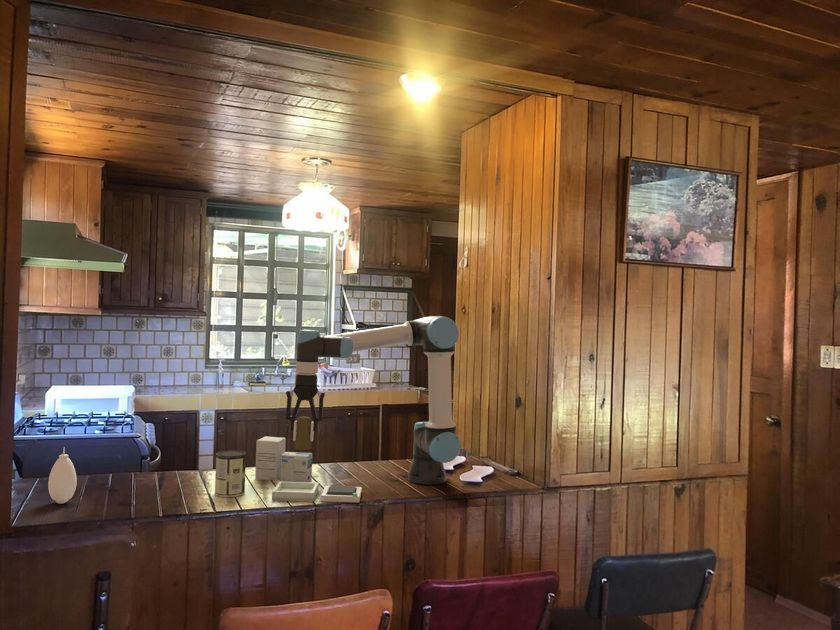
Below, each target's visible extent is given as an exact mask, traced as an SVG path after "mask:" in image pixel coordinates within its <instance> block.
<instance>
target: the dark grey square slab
mask: <svg viewBox="0 0 840 630" xmlns="http://www.w3.org/2000/svg"><path fill="white" fill-rule="evenodd" d="M329 486H330V488H329V490H328V495H353V493H355V491H356V487H357V485H338V484H337V485H334V484H330V485H329Z"/></svg>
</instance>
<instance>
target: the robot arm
mask: <svg viewBox="0 0 840 630" xmlns="http://www.w3.org/2000/svg"><path fill="white" fill-rule="evenodd" d="M320 333H321V332H320V331H319V330H318V329H317V330H316V329H315V330H314V329H300V330H299V332H298V335H297V341H296V342H297V344H296V345H297V346H296V364H295V368H296V369H295V373H297V374H296V375H295V382H294V383H295V385H294V388H293V389H291V390H286V392H285V394H286V397H287V398H286V399H287V400H286V412H285V414H286V415H285V419H286V420H288V421H290V431H292V432H293V437H292V441H293V442H295V441H296V436H297V430H298V425H297V419H296V418H297V415H298V413H299V409H300V407H301V404H302V401H306V402H308V403H309V408H310V412H311V416H312V420H313V421H312V422H311V426H310V433H311V437H310V441H311V442H314V433H315V432H317V430H318V422H322V420H323V419H324V398H325V395H326V392H325V391H321V390H319V389H318V375H317V374H318V373H319V372H318V371H319V359H320V358H332V359H333V358H334V359H335V358H337V359H349V358H351V357H352V356H353V354H354V352H361V351H367V350H368V351H369V350H375V349H380V348H388V347H395V346H400V345H407V346H409V347H411V346H423V354H424V355H426V356H427V373H428V375H427V376H428V377H427V379H428V383H427V385H428V386H427V387H428V421H418V422H415V423H414V426H413V427H414V429H413V446H412V447H413V448H412V449H413V450H412V452H413V453H412V461H411V465H410V467H409V470H408V472H407V480H408V481H409V482H410V483H413V484H418V485H441V484H444V483H446V482H447V473H446V469H445V466H444V464H446V463H447V464H448V463H450V462H452V461H454V460H455V459H456V458H457V457H458V456H459V454H460V452H461V448H462V446H461V445H462V442H461V440H460V438H459V436H458V435H457V424H456V423H455V421H453V416H452V415H453V413H452V411H453V407H452V406H453V403H452V356H453V355H454V354H455V351H456V350H455V349H456V348H455V344H456V343H457V342H458V339H459V336H460V331H459V327H458V325H457V324H456V322H455V321H454V320H453V319H451V318H450V317H447V316H443V315H435V316H434V315H430V316H425V317H424V316H423V317H420V318H418V319H414V320H407V321H405V322H404V323H403V324H398V325H392V326H391V325H390V326H384V327H379V328H372V329H371V328H370V329H364V330H363V329H362V330H357V331H351V332H343V333H337V334H336V333H335V334H324V335H321V334H320ZM294 394H295V396H296V398H297V400H296V403H295V405H294V406H295V407H294V410H293V412H292V401H293V396H294ZM316 396H317V397H318V399H319V400H318V415H317V411H316V406H315V400H314V398H315V397H316ZM291 412H292V413H291Z"/></svg>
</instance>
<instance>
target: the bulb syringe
mask: <svg viewBox="0 0 840 630" xmlns="http://www.w3.org/2000/svg"><path fill="white" fill-rule="evenodd" d="M65 452H66V448H65V446H64V447H63V451H62V454H60V455H58V458H57V460H56V461H55V462H54V464H53V466H52V468H51V470H50V473H49V476H48V485H47V487H48V493H49V495H50V498H51V499H52V501H54V502H55V503H57V504H59V505H60V504H65V503H67V502H69V500H71V499H72V497H73V496H74V494H75V491H76V488H77V482H78V481H77V480H78V477H77V473H76V468H75V466H74V463H73V462H72V460H71V459H70V458H69V454H67V453H65Z"/></svg>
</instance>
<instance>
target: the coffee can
mask: <svg viewBox="0 0 840 630" xmlns="http://www.w3.org/2000/svg"><path fill="white" fill-rule="evenodd" d="M246 462H247V452H246V451H243V450H222V451H217V452H216V453H215V475H214V476H215V477H214V479H215V481H214V496H215V497H219V498H236V497H241V496H243V495H245V493H246V491H245V490H246V466H247V465H246V464H247V463H246Z"/></svg>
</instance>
